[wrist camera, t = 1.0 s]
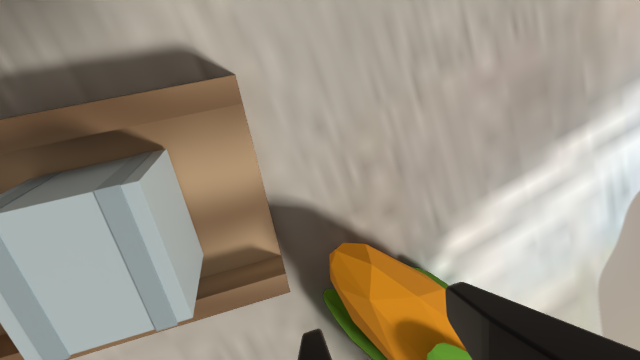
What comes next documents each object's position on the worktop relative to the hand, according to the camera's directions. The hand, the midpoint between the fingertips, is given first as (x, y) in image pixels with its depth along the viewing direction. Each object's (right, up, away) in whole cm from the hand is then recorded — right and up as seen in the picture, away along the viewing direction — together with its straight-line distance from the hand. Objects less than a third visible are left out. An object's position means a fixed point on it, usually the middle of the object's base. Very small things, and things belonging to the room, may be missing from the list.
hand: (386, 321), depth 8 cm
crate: (-11, +1, +9) cm, 14 cm away
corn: (+5, -6, +17) cm, 18 cm away
